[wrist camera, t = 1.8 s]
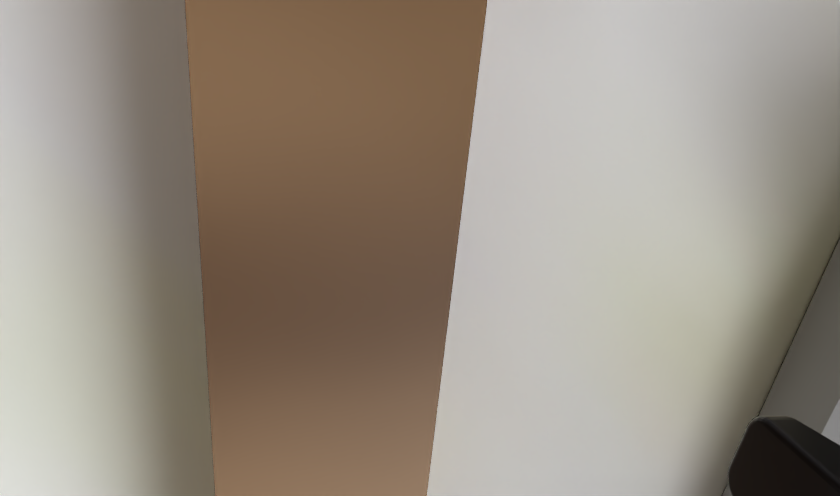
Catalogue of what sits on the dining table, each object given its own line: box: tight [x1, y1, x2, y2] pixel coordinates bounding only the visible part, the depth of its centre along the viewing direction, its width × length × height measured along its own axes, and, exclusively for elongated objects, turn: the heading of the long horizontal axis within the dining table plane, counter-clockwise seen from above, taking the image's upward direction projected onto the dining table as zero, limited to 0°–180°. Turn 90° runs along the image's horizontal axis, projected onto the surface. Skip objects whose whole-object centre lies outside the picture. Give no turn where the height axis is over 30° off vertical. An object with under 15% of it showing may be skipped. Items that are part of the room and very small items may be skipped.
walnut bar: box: [185, 0, 487, 496], centre depth 11 cm, size 22×3×3 cm, turn 174°
